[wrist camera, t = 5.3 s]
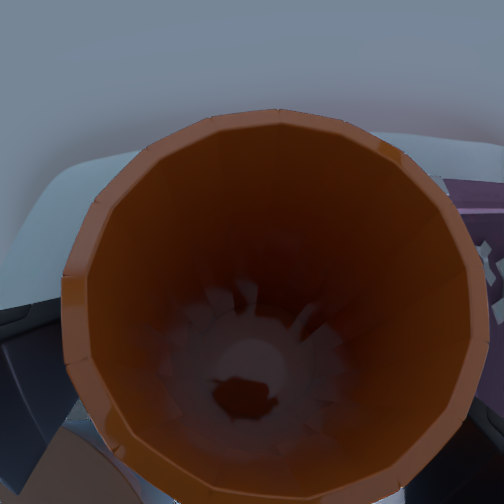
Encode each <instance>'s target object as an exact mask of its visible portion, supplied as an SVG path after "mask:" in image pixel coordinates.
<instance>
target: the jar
mask: <svg viewBox="0 0 504 504" xmlns="http://www.w3.org/2000/svg"><path fill="white" fill-rule="evenodd" d="M0 502H1V504H174V499H173V498H171V497H170V496H168V495H167V494H165V493H164V492H162V491H161V490H159V489H158V488H156V487H155V486H153V485H152V484H150V483H149V482H147V481H146V480H145V479H143V478H142V477H140V476H139V475H138V474H136V473H135V472H134V471H132V470H131V469H130V468H128V467H127V466H126V465H125V464H123V463H122V462H121V461H120V460H118V459H117V458H116V457H115V456H114V455H113V452H111V451H110V450H109V449H108V447H107V446H106V444H105V442H104V441H103V439H102V437H101V436H100V434H99V432H98V431H97V429H96V427H95V426H94V424H93V422H92V420H76V421H66V422H63V423H62V425H61V426H60V428H59V429H58V431H57V432H56V434H55V436H54V437H53V439H52V440H51V442H50V444H49V445H48V446H47V449H46V450H45V452H44V454H43V455H42V457H41V458H40V460H39V462H38V463H37V465H36V467H35V468H34V470H33V472H32V474H31V475H30V477H29V479H28V480H27V482H26V484H25V486H24V487H23V489H22V491H21V492H20V494H19V495H18V496H17V495H16V494H14V493H13V492H12V491H11V490H9V489H8V488H7V487H6V486H4V485H3V484H2V483H1V482H0Z"/></svg>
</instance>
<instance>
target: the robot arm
mask: <svg viewBox="0 0 504 504" xmlns="http://www.w3.org/2000/svg"><path fill="white" fill-rule="evenodd" d="M78 399H79V396H78V394H77V392H76V390H75V388H74V385H73V383H72V381H71V379H70V377H69V375H68V373H67V370H66V365H65V364H64V357H63V344H62V326H61V297H59V298H55V299H50V300H46V301H42V302H37V303H33V304H28V305H24V306H19V307H14V308H9V309H4V310H0V482H1V483H2V484H3V485H4V486H6V487H7V488H8V489H9V490H11V491H12V492H13V493H14V494H16V495H17V496H18V495H19V494H20V492H21V491H22V489H23V487H24V486H25V484H26V482H27V480H28V479H29V477H30V475H31V474H32V472H33V470H34V468H35V467H36V465H37V463H38V462H39V460H40V458H41V457H42V455H43V454H44V452H45V450H46V449H47V446H48V445H49V444H50V442H51V440H52V439H53V437H54V436H55V434H56V432H57V431H58V429H59V428H60V426H61V425H62V423H63V421H64V420H65V418H66V417H67V415H68V414H69V412H70V411H71V409H72V408H73V406H74V405H75V403H76V402H77V400H78ZM405 504H504V419H503V418H502V417H501V416H500V415H498V414H497V413H496V412H495V411H493V410H492V409H491V408H490V407H489V406H486V404H485V403H484V402H482V401H481V400H480V399H479V398H478V397H476V396H475V395H474V398H473V401H472V403H471V406H470V408H469V411H468V414H467V416H466V419H465V420H464V421H463V422H462V425H461V427H460V428H459V429H458V430H457V432H456V433H455V434H454V435H453V437H452V438H451V439H450V440H449V441H448V442H447V444H446V445H445V446H444V447H443V448H442V449H441V450H440V452H439V453H438V454H437V455H436V456H435V457H434V458H433V459H432V460H431V461H430V462H429V463H428V464H427V465H426V467H425V468H424V469H423V470H422V471H421V472H420V473H419V474H418V475H417V476H416V477H414V478H413V479H412V480H411V481H410V482H409V483H408V484H407V485H406V486H405Z"/></svg>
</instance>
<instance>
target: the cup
mask: <svg viewBox="0 0 504 504" xmlns="http://www.w3.org/2000/svg"><path fill="white" fill-rule="evenodd" d="M452 203H453V202H452V200H451V199H450V198H449V197H448V196H447V195H446V193H445V192H444V191H443V190H442V189H441V188H440V187H439V186H438V185H437V184H436V183H435V182H434V181H433V180H432V179H431V178H430V176H429V175H428V174H427V173H426V172H425V171H424V170H423V169H422V168H421V167H420V166H419V165H418V164H417V163H416V162H414V161H413V160H412V159H411V158H410V157H409V156H408V155H407V154H404V152H403V151H401V150H400V149H398V148H396V147H394V146H392V145H391V144H389V143H387V142H385V141H383V140H382V139H380V138H378V137H376V136H374V135H372V134H370V133H368V132H366V131H364V130H362V129H360V128H358V127H356V126H354V125H352V124H350V123H348V122H344V121H342V120H338V119H334V118H328V117H323V116H319V115H314V114H308V113H302V112H296V111H290V110H284V109H279V110H277V109H267V110H259V111H250V112H241V113H233V114H226V115H219V116H212V117H211V118H206V119H203V120H201V121H199V122H197V123H194V124H192V125H190V126H188V127H186V128H184V129H181V130H179V131H177V132H175V133H173V134H171V135H169V136H167V137H165V138H163V139H161V140H159V141H157V142H155V143H153V144H151V145H149V146H147V147H146V149H143V150H142V151H141V152H140V153H139V154H138V155H137V156H136V157H135V158H134V159H132V160H131V161H130V162H129V163H128V164H127V165H126V166H125V167H124V168H123V169H122V170H121V171H120V172H119V173H118V174H117V175H116V176H115V177H114V179H113V180H112V181H111V182H110V183H109V184H108V185H107V186H106V187H105V188H104V189H103V190H102V191H101V192H100V193H99V194H98V195H97V197H96V198H95V199H94V202H93V203H92V204H91V205H90V207H89V209H88V212H87V214H86V216H85V218H84V221H83V223H82V225H81V227H80V230H79V232H78V235H77V237H76V239H75V242H74V244H73V247H72V249H71V252H70V254H69V257H68V260H67V262H66V265H65V268H64V271H63V277H62V278H61V326H62V344H63V357H64V364H65V365H66V370H67V373H68V375H69V377H70V379H71V381H72V383H73V385H74V388H75V390H76V392H77V394H78V396H79V398H80V400H81V402H82V404H83V405H84V407H85V409H86V411H87V413H88V415H89V417H90V418H91V420H92V422H93V424H94V426H95V427H96V429H97V431H98V432H99V434H100V436H101V437H102V439H103V441H104V442H105V444H106V446H107V447H108V449H109V450H110V451H111V452H113V455H114V456H115V457H116V458H117V459H118V460H120V461H121V462H122V463H123V464H125V465H126V466H127V467H128V468H130V469H131V470H132V471H134V472H135V473H136V474H138V475H139V476H140V477H142V478H143V479H145V480H146V481H147V482H149V483H150V484H152V485H153V486H155V487H156V488H158V489H159V490H161V491H162V492H164V493H165V494H167V495H168V496H170V497H171V498H173V499H175V500H176V501H178V502H180V503H181V504H372V503H374V502H376V501H379V500H381V499H383V498H385V497H387V496H390V495H392V494H394V493H396V492H398V491H399V490H400V488H404V487H405V486H406V485H407V484H408V483H409V482H410V481H411V480H412V479H413V478H414V477H416V476H417V475H418V474H419V473H420V472H421V471H422V470H423V469H424V468H425V467H426V465H427V464H428V463H429V462H430V461H431V460H432V459H433V458H434V457H435V456H436V455H437V454H438V453H439V452H440V450H441V449H442V448H443V447H444V446H445V445H446V444H447V442H448V441H449V440H450V439H451V438H452V437H453V435H454V434H455V433H456V432H457V430H458V429H459V428H460V427H461V425H462V422H463V421H464V420H465V419H466V416H467V414H468V411H469V408H470V406H471V403H472V401H473V398H474V395H475V392H476V389H477V386H478V383H479V380H480V377H481V374H482V371H483V367H484V364H485V361H486V357H487V353H488V350H489V344H488V343H489V342H490V326H489V308H488V296H487V286H486V277H485V270H484V269H483V263H482V261H481V259H480V256H479V254H478V252H477V249H476V247H475V245H474V243H473V240H472V238H471V236H470V234H469V232H468V230H467V228H466V225H465V223H464V221H463V219H462V217H461V215H460V213H459V212H458V210H457V208H456V206H455V205H454V204H452Z"/></svg>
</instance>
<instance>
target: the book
mask: <svg viewBox="0 0 504 504" xmlns="http://www.w3.org/2000/svg"><path fill="white" fill-rule="evenodd" d="M429 176H430V178H431V179H432V180H433V181H434V182H435V183H436V184H437V185H438V186H439V187H440V188H441V189H442V190H443V191H444V192H445V193H446V195H447V196H448V197H449V198H450V199H451V200H452V202H453V203H452V204H454V205H455V206H456V208H457V210H458V212H459V213H460V215H461V217H462V219H463V221H464V223H465V225H466V228H467V230H468V232H469V234H470V236H471V238H472V240H473V243H474V245H475V247H476V249H477V252H478V254H479V256H480V259H481V261H482V263H483V269H484V270H485V277H486V286H487V296H488V308H489V326H490V342H489V343H488V344H489V350H488V353H487V357H486V361H485V364H484V367H483V371H482V374H481V377H480V380H479V383H478V386H477V389H476V392H475V396H476V397H478V398H479V399H480V400H481V401H482V402H484V403H485V404H486V406H489V407H490V408H491V409H492V410H493V411H495V412H496V413H497V414H498V415H500V416H501V417H502V418H503V419H504V183H494V182H483V181H471V180H457V179H442V177H441V176H431V175H429Z"/></svg>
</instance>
